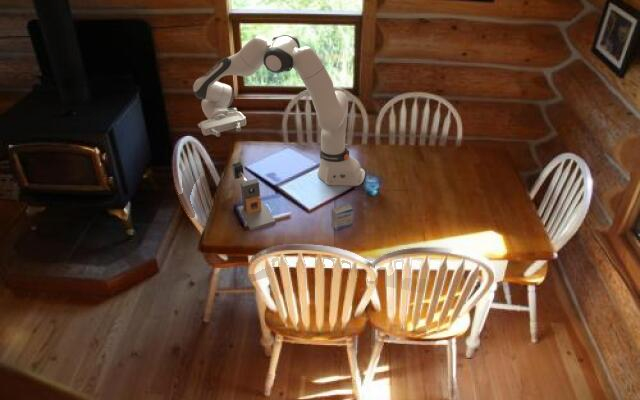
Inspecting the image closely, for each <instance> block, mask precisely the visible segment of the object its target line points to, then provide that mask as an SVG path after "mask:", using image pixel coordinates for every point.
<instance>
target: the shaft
mask: <svg viewBox="0 0 640 400" xmlns="http://www.w3.org/2000/svg"><path fill="white" fill-rule="evenodd" d="M231 168H232V176H233V178H234V179H235V180H237V179H240V180H241V181H242V182H246V181H248V179H247V178H246V176H245V173H244V165H243V164H242V162H241V161H239V162H236V163H232V164H231ZM242 182H241V183H242ZM249 190H251V189H249Z"/></svg>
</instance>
